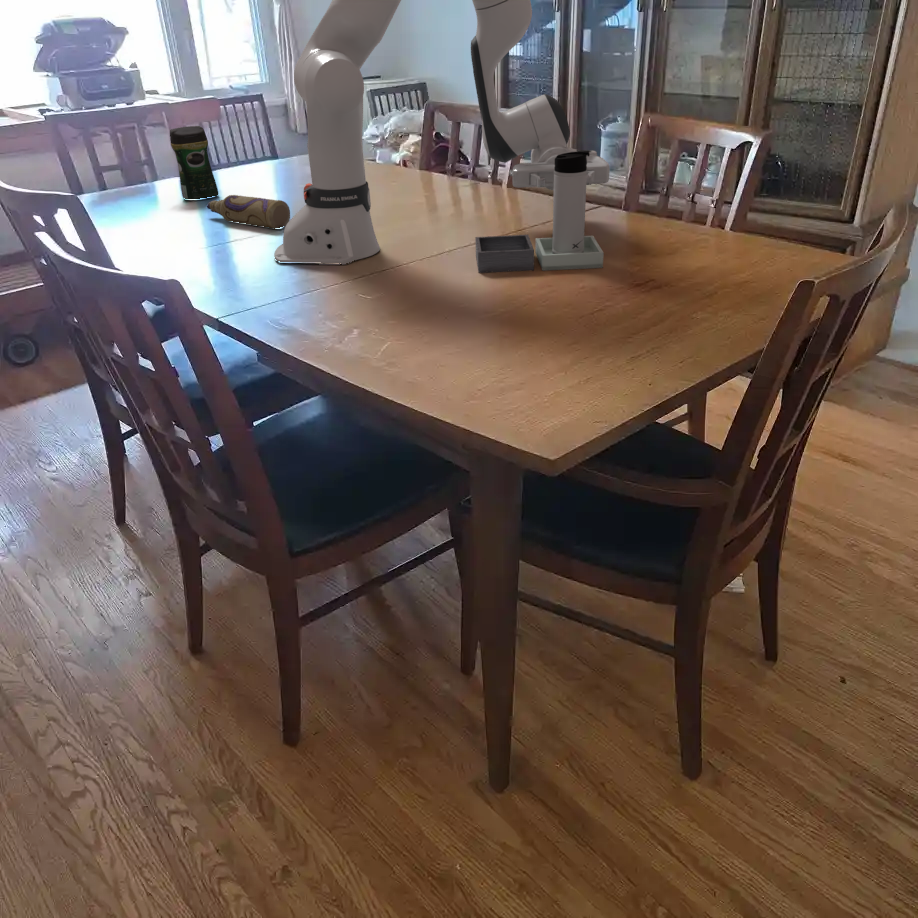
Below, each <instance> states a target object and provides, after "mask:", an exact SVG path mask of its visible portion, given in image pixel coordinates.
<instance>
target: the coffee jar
mask: <svg viewBox="0 0 918 918" xmlns="http://www.w3.org/2000/svg"><path fill="white" fill-rule="evenodd" d="M169 137H170V138H169V139H170V140H169V141H170V147H171V148H172V150H173V152H174V155H175V157H176V161H177V167H178V175H179V182H180V191H181V196H182V198H183V199H184V198H185V199H200V198H207V197H212V196H216V197H218V196H219V194H220V193H219V190H218V186H217V182H216V178H215V175H214V173H213V170H212V166H211V163H210V159H209V153H208V146H209V141H208V138H207V134H206V132H205V130H204V127H202V126H199V125H190V126H182V127H181V126H180V127H177V128H172V129H169ZM217 195H218V196H217ZM185 199H184V200H185Z"/></svg>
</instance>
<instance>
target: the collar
mask: <svg viewBox="0 0 918 918" xmlns="http://www.w3.org/2000/svg"><path fill="white" fill-rule="evenodd" d="M474 238H475V239H474V240H475V241H474V243H475V258H476V265H477V271H478V274H483V273H484V274H485V273H486V274H487V273H503V272H505V273H506V272H507V273H508V272H525V271H526V272H527V271H528V272H529V271H535V248H534V247H533V243H532V241H531V238H530V236H529V234H515V235H513V234H512V235H493V236H492V235H491V236H476V237H474Z"/></svg>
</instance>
